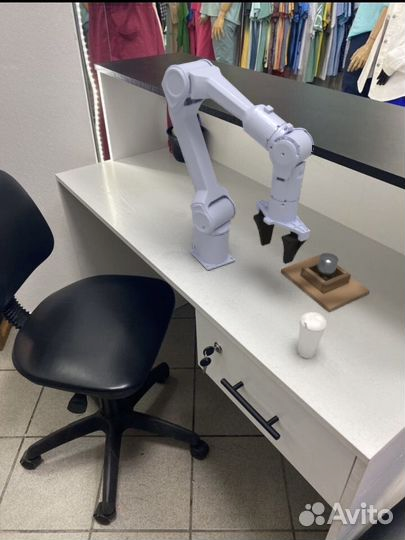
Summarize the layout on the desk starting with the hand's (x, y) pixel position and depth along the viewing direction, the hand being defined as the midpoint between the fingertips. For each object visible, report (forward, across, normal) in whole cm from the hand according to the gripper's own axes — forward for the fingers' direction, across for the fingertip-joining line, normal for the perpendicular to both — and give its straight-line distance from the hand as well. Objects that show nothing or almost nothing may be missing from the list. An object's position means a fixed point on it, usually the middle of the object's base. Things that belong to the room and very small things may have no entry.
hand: (276, 252), depth 84 cm
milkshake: (+9, +19, -7) cm, 22 cm away
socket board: (+9, +5, +11) cm, 15 cm away
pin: (+8, +5, +11) cm, 14 cm away
